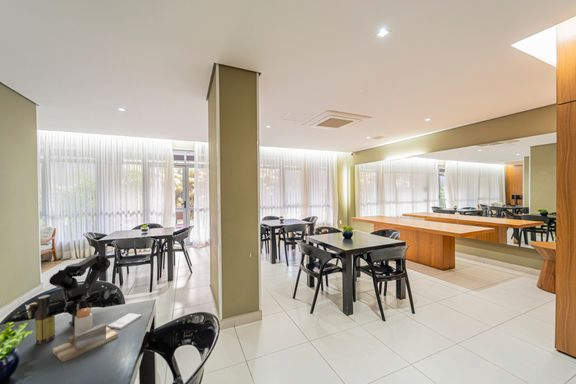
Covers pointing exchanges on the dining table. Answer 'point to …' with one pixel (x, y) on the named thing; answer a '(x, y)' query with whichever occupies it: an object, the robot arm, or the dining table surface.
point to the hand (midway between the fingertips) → (79, 319)
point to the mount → (84, 342)
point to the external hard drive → (124, 321)
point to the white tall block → (83, 320)
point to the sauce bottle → (44, 321)
